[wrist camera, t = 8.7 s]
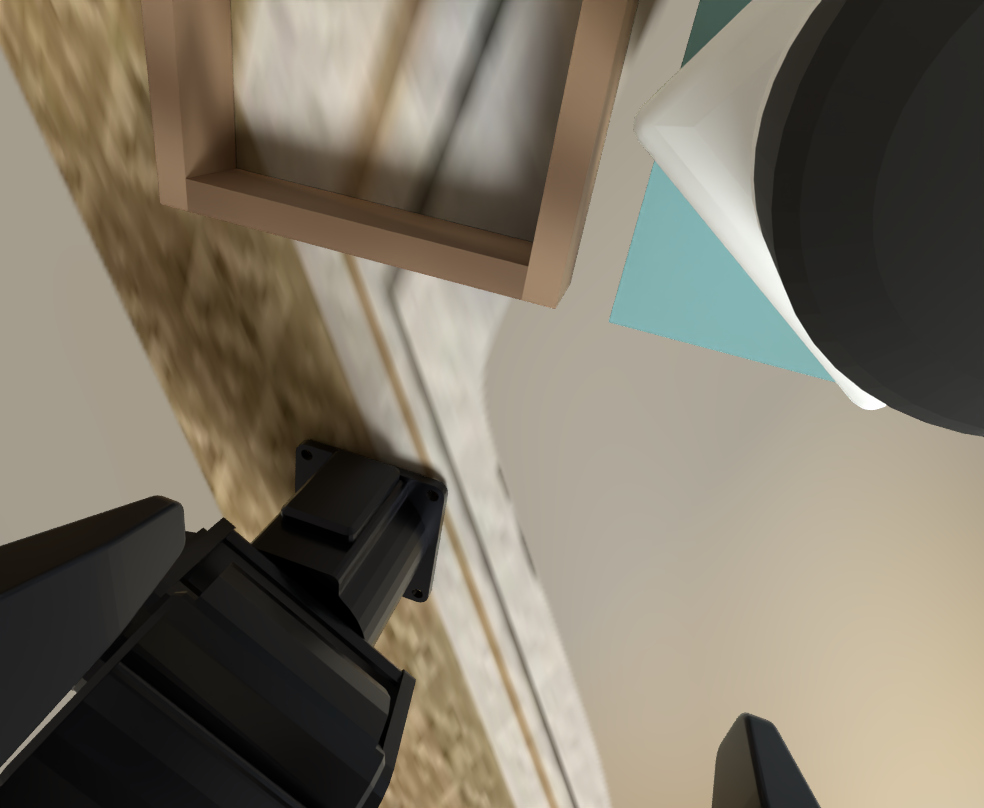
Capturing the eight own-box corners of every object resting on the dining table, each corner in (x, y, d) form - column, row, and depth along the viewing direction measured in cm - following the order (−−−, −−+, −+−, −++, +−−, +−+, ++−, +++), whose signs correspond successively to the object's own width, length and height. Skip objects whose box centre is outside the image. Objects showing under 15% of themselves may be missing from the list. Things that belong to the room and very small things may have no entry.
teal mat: (906, 396, 19) (910, 402, 18) (609, 318, 20) (608, 321, 20) (1282, -251, 12) (1299, -262, 11) (785, -300, 13) (788, -310, 13)
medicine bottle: (808, 305, 18) (960, 613, 8) (648, 106, 17) (575, 156, 7) (1101, 113, 14) (2120, 209, 4) (923, -156, 13) (1715, -959, 3)
